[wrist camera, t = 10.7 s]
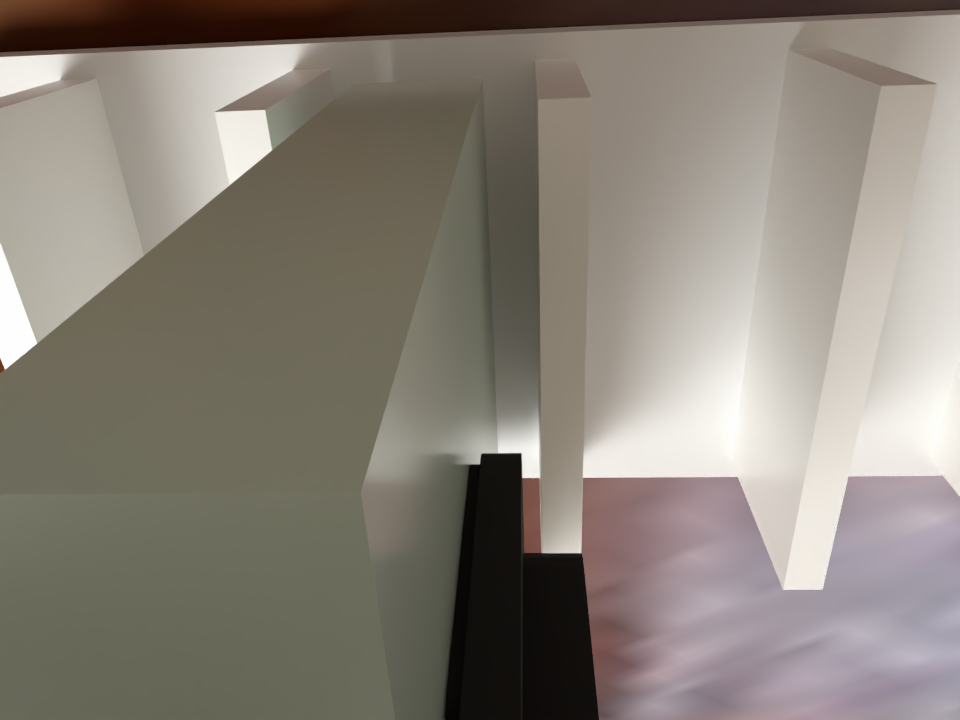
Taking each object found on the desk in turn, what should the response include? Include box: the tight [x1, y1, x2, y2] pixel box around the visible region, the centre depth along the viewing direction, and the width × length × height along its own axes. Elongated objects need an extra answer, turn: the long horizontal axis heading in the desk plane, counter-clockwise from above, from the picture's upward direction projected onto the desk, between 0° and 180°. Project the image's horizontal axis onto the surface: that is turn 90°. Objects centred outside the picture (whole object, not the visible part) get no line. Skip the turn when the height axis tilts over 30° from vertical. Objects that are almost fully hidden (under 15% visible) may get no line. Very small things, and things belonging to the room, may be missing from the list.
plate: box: [0, 79, 498, 720], centre depth 11 cm, size 2×10×12 cm, turn 2°
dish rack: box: [0, 10, 960, 590], centre depth 16 cm, size 25×11×6 cm, turn 93°
